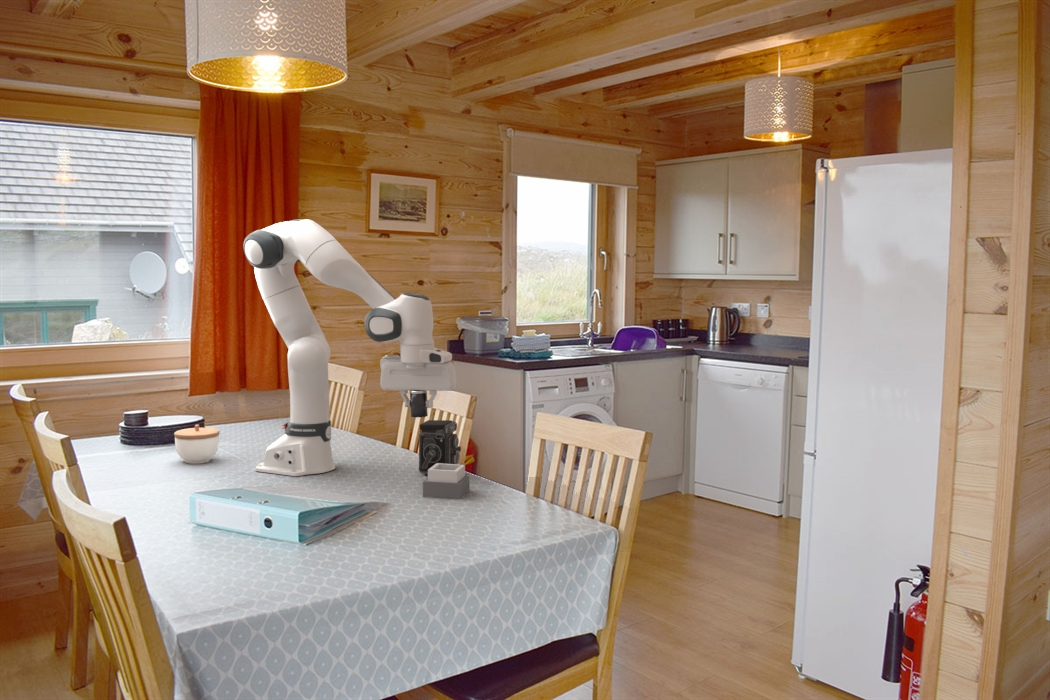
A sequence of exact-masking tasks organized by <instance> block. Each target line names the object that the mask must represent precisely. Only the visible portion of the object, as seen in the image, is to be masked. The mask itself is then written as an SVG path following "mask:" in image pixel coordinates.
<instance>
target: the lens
mask: <svg viewBox="0 0 1050 700" xmlns="http://www.w3.org/2000/svg"><path fill="white" fill-rule="evenodd" d="M409 396H410V397H409V400H410V407H409V408H410V417H411V418H426V417H428V408H426V401H427V400H428V391H425V390H409Z"/></svg>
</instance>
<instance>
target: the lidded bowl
mask: <svg viewBox="0 0 1050 700" xmlns="http://www.w3.org/2000/svg"><path fill="white" fill-rule="evenodd" d="M173 435H174V445H175V449H176V452H177V455H178V456H179V458H181V460H183V461H184V463H185V464H193V465H195V464H205V463H209V462H210V461H211V460H212V458H213V457H214V456H215V455H216V454H217V452H218V449H219V444H220V429H218V428H214V427H200V424H195V425H194V427H188V428H184V429H183V428H182V429H179V430H176V431H175V432H174V433H173Z"/></svg>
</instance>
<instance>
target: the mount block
mask: <svg viewBox="0 0 1050 700" xmlns="http://www.w3.org/2000/svg"><path fill="white" fill-rule="evenodd" d="M469 491H470V475H468V474H467V475H466V465H465V464H460V463H459V464H443V463H436V464H435V465H434V466H432V467H431V468H430V469H428V474H427V477H426V478H425V479H424V480H423V481H422V498H423V497H424V498H435V499H448V500H449V499H451V500H461V499H462V498H464V497H465V496H466V494H467V493H468V492H469Z"/></svg>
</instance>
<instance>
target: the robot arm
mask: <svg viewBox="0 0 1050 700" xmlns="http://www.w3.org/2000/svg"><path fill="white" fill-rule="evenodd" d="M243 254H244V255H245V256H244V257H245V258H246V260H247V261H248V263H249V264H250V265H251V266H253V268H254V269H253V271H254V275H255V276H254V277H255V280H256V283H257V287H258V290H259V292H260V295H261V298H262V300H263V302H264V305H265V306H266V309H267V311H268V313H269V315H270V318H271V320H272V323H273V325H274V327H275V329H277V331H278V333H279V335H280V336H281V338H282V340H283V342H284V343H285V345H286V347H287V349H288V351H287V356H286V357H287V374H288V375H287V376H288V377H287V378H288V385H289V386H288V387H289V408H290V410H289V411H290V412H289V413H290V414H289V418H290V420H289V421H287V422H285V423H284V424H282V425H281V429H282V430H284V434H282V435H281V436H280V437H279V438H277V439H276V440H275V441H274V442H272V443H271V444H269V445H268V446H267V447H266V448H265V452H264V456H263V461H262V462H260V463H258V464H257V465H256V466H255V471H256V472H261V473H269V474H275V475H276V474H277V475H283V476H284V475H285V476H291V477H292V476H293V477H300V476H305V475H306V476H307V475H317V474H321V473H328V472H331V471H333V470H335V469H336V465H335V461H334V457H333V453H332V452H333V451H332V445H331V439H332V421H331V419H330V385H329V383H330V382H329V361H330V359H331V348H330V345H329V343H328V341H327V338H326V336H325V334H324V333H323V330H322V328H321V327H320V325H319V322H318V321H317V318H316V317H315V315H314V312H313V311H312V308H311V307H310V304H309V302H308V300H307V297H306V295H305V292H304V291H303V288H302V286H301V284H300V282H299V278H298V277H297V275H296V273H295V272H296V271H295V264H296V262H297V263H301V264H302V265H303V266H304V267H305V268H306V270H307V271H308V272H309V273H310V274H311V275H312V276H313V277H315V278H316V279H317V280H318V281H320V282H321V283H322V284H324V285H326V286H329V287H334V288H337V289H342V290H345V291H349V292H351V293H354V294H355V295H357V296H359V297H360V298H361V299H363V301H365V303H366V304H367V305H369V306H370V307H371V310H370V311H368V312H367V314H366V315H365V317H364V329H365V333H366V335H367V336H368V337H369V338H370V339H371V340H372V341H373V342H374V341H375V342H376V343H391V342H392V343H394V342H397V341H398V342H399V349H400V354H385V356H383V357H381V359H380V362H379V364H380V365H379V366H380V370H381V371H380V383H379V385H380V387H381V389H382V390H383V391H399V393H400V394H399V395H400V396H401V397H402V399H403V401H404V407H405V408H411V407H410V397H409V396H408V395H407V394H408V393H409V391H410V390H425V391H427V392H428V391H429V392H428V394H429V395H430V397H429V399H427V401H426V408H427V409H428V408H429V409H432V408H433V407H434V400H435V398H436V396H437V395H438V392H439V391H440V392H443V391H444V392H451V391H454V390H455V389H456V387H457V386H458V385H457V384H458V383H457V382H458V380H457V373H456V367H455V365H454V363H453V362H451V361H452V360H453V353H451V352H449V351H446V350H444V349H440V348H437V347H435V340H434V338H433V330H434V327H435V326H434V313H433V305H432V302H431V299H430V298H429V297H428V296H427V295H425V294H421V293H416V292H415V293H414V292H404V293H401V294H400V295H399V296H398V297H397V298H396V297H395V296H394V295H393V294H392V293H390V292H389V291H388V290H387V289H386V288H385V287H384V286H383V285H382V284H381V283H380V282H379V281H378V280H377V279H375V277H374V276H372V275H371V274H370V273H369V272H368V271H366V269H365V268H364V267H363V266H362V265H360V263H358V261H357V260H355V258H354V257H353V256H352V255H351V254H350V253H349V251H347V249H345V247H343V246H342V245H341V243H340V242H339V241H338V240H337V239H336V237H334V236H333V235H332V234H331V233H330V232H329V231H328V230H326V229H325V228H324V227H323V226H322V225H320V224H318V223H317V222H316V221H314V220H312V219H305V218H304V219H292V220H289V221H288V220H287V221H283V222H282V221H280V222H278V223H276V222H275V223H274V224H272V225H269V226H266V227H265V228H262V229H257V230H255V231H252V232H251V233H249V234H248V235H247V236H246V237H245V238H244V241H243Z"/></svg>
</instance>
